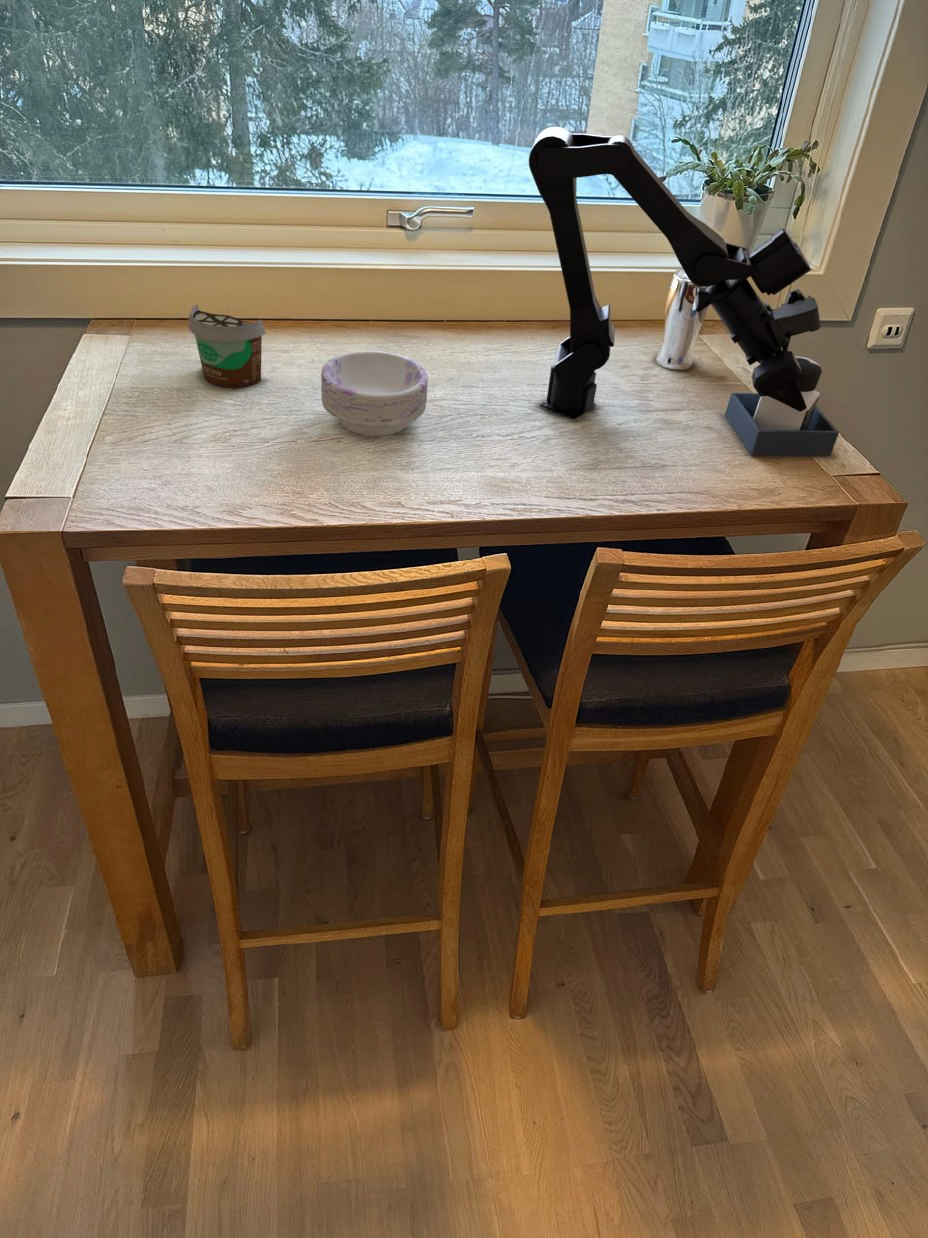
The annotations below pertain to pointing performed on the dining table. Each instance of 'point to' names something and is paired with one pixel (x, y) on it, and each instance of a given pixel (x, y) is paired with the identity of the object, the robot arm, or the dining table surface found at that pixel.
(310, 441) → the dining table surface
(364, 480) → the dining table surface
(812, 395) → the medicine bottle
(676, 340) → the silver tumbler
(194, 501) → the dining table surface
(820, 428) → the caddy
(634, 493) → the dining table surface
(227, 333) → the food container
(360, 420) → the paper bowls
